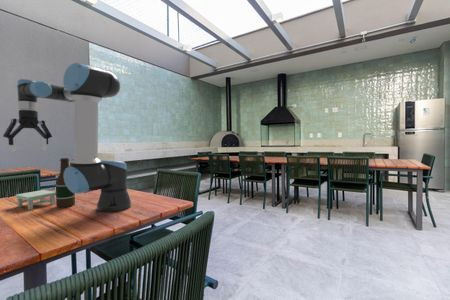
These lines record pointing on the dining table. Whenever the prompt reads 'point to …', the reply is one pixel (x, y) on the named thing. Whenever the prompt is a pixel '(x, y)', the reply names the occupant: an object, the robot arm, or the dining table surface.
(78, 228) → the dining table surface
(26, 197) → the stool
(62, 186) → the beer bottle
